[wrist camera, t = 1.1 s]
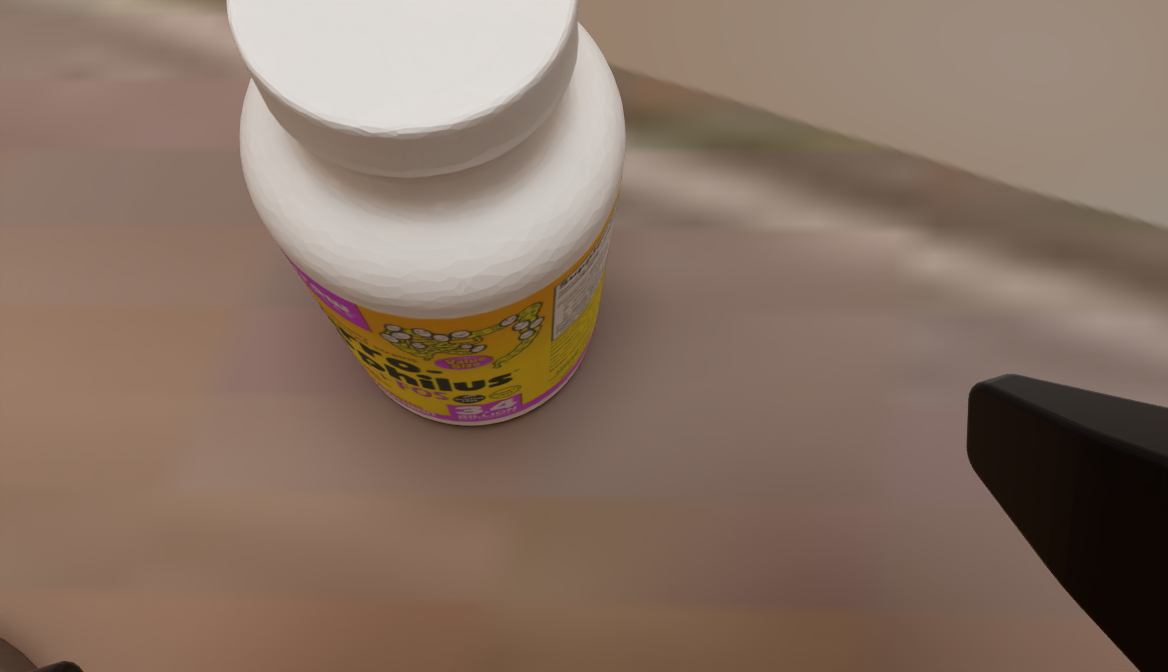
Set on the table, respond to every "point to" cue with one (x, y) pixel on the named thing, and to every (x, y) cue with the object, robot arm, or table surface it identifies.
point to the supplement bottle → (438, 186)
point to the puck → (13, 659)
